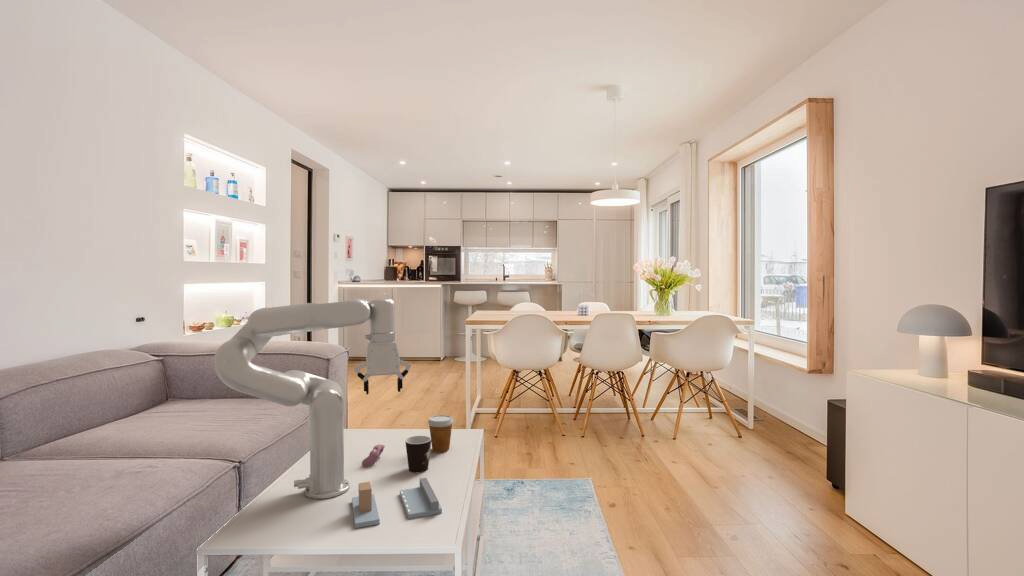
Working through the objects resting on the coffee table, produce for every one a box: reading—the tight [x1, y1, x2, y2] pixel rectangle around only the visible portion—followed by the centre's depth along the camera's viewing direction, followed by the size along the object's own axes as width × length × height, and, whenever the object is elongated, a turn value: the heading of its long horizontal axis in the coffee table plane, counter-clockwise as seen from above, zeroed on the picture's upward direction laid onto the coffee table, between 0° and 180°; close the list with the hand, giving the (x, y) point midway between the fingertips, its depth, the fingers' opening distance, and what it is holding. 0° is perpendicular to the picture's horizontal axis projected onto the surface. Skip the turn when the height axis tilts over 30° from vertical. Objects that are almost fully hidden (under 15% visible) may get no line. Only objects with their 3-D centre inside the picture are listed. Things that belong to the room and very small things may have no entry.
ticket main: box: [399, 477, 443, 520], centre depth 137 cm, size 9×17×4 cm, turn 21°
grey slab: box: [351, 481, 380, 529], centre depth 131 cm, size 6×16×7 cm, turn 21°
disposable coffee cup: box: [427, 414, 454, 453], centre depth 180 cm, size 10×10×12 cm
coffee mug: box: [404, 435, 432, 474], centre depth 163 cm, size 12×9×10 cm
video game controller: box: [361, 443, 386, 468], centre depth 169 cm, size 10×5×7 cm, turn 0°
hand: (383, 392), depth 151 cm, fingers open, 9 cm apart
